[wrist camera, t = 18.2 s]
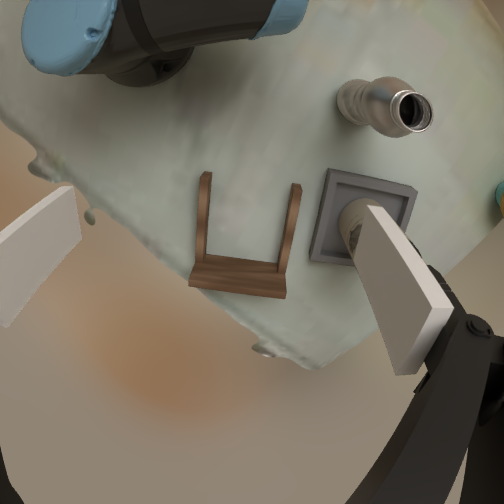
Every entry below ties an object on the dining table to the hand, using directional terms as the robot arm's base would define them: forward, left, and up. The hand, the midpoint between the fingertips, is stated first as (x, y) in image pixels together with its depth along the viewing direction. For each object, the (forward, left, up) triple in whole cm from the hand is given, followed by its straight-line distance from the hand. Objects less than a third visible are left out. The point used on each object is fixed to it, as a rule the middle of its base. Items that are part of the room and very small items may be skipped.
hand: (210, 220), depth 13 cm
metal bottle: (-7, +14, -34) cm, 37 cm away
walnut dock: (+15, +1, -33) cm, 37 cm away
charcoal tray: (+11, +19, -33) cm, 40 cm away
